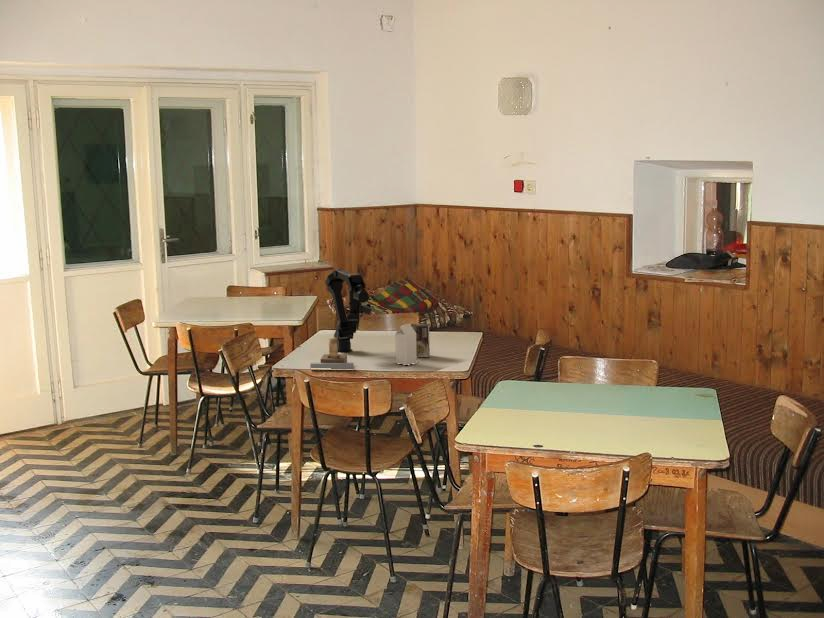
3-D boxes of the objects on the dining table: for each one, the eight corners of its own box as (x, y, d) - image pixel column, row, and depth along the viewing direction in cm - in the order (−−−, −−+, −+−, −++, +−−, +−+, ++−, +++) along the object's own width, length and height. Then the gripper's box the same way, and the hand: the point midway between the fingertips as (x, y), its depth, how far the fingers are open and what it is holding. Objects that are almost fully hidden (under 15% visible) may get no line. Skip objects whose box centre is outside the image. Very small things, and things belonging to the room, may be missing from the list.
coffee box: (430, 355, 474) (429, 323, 471) (428, 358, 467) (428, 325, 464) (411, 355, 475) (411, 323, 472) (410, 358, 468) (409, 325, 465)
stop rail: (311, 370, 447) (311, 362, 446) (353, 370, 446) (353, 362, 445) (310, 371, 445) (310, 363, 444) (353, 371, 444) (353, 363, 443)
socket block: (324, 364, 457) (324, 354, 457) (347, 364, 457) (346, 354, 456) (320, 369, 447) (320, 359, 446) (344, 369, 446) (343, 359, 445)
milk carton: (416, 363, 456) (416, 324, 453) (406, 366, 451) (405, 326, 448) (405, 361, 461) (405, 322, 458) (395, 364, 456) (394, 325, 453)
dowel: (328, 364, 452) (327, 338, 450) (336, 364, 453) (335, 337, 451) (331, 366, 448) (330, 339, 446) (339, 365, 450) (338, 338, 448)
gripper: (369, 302, 458) (370, 334, 461) (373, 296, 477) (374, 327, 479) (346, 303, 459) (347, 334, 462) (351, 296, 477) (352, 327, 480)
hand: (355, 331), depth 471 cm, fingers open, 9 cm apart
